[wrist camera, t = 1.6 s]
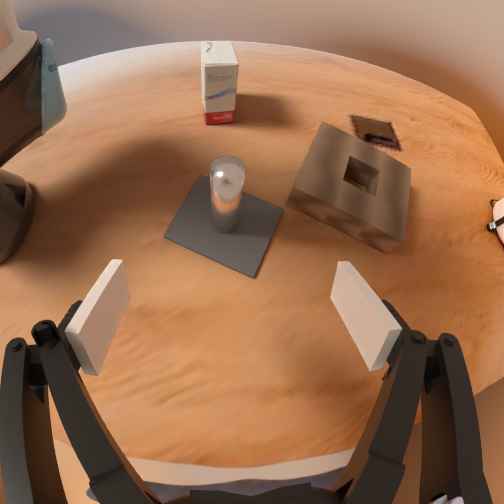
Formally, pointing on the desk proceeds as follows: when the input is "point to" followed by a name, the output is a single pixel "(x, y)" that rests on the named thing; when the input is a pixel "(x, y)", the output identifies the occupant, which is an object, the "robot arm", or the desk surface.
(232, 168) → the silver rounded cylinder
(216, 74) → the ink box
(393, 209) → the hole block
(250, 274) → the rubber mat
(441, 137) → the desk surface
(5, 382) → the robot arm
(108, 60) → the desk surface
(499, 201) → the coffee press
